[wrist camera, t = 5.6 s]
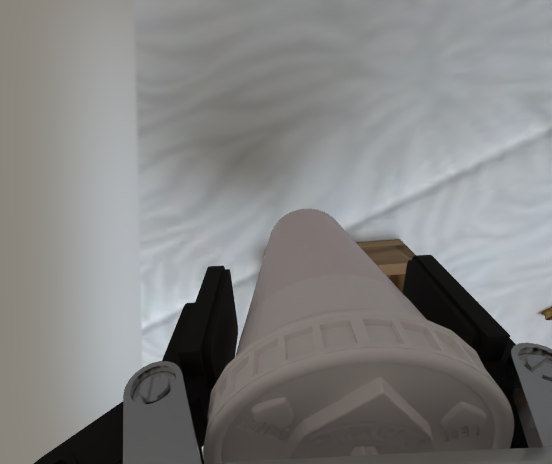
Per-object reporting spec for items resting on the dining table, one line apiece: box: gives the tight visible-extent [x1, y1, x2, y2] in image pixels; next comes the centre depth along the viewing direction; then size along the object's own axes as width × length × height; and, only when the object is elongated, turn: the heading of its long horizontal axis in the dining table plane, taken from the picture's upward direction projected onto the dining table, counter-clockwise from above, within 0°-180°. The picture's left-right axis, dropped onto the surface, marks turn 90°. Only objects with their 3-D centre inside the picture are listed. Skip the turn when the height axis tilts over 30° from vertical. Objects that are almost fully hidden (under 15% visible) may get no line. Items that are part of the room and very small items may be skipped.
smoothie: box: [203, 209, 514, 464], centre depth 8 cm, size 6×6×14 cm
